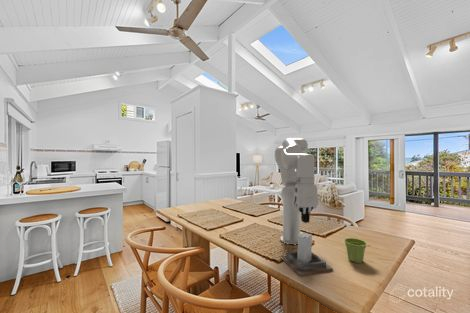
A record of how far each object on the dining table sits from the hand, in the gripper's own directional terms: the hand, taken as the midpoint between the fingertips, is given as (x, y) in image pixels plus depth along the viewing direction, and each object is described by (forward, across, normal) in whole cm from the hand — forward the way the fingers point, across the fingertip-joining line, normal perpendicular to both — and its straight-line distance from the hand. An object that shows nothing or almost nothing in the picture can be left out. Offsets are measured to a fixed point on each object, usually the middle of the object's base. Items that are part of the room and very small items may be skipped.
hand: (305, 221), depth 96 cm
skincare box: (+18, 0, 0) cm, 18 cm away
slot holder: (+19, 0, 0) cm, 19 cm away
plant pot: (+19, +25, -3) cm, 32 cm away
